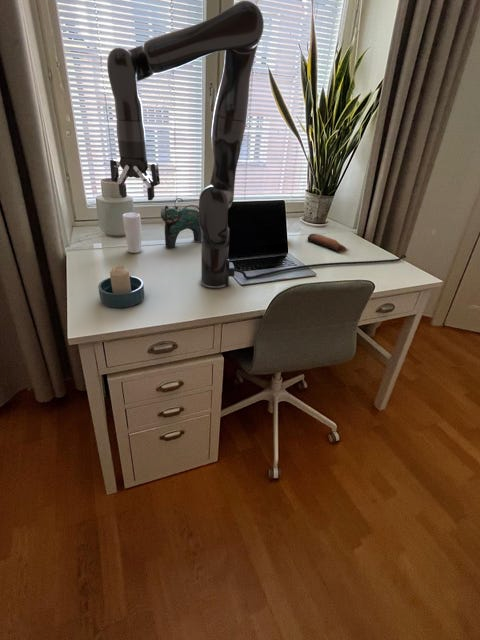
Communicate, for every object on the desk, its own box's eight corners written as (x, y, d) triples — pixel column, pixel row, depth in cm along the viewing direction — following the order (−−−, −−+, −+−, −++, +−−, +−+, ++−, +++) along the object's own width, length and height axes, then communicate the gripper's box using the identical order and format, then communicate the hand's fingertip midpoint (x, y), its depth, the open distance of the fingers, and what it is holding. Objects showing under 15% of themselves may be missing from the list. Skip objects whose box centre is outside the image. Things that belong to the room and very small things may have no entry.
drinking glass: (144, 253, 142) (141, 216, 134) (127, 254, 140) (123, 217, 132) (142, 247, 148) (138, 212, 140) (125, 249, 145) (121, 212, 137)
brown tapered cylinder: (348, 248, 161) (347, 237, 156) (339, 258, 159) (337, 248, 154) (317, 237, 172) (315, 227, 167) (308, 246, 170) (306, 236, 165)
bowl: (145, 288, 116) (144, 275, 114) (142, 308, 105) (141, 294, 103) (104, 289, 114) (102, 275, 111) (97, 309, 103) (94, 295, 100)
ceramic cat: (167, 250, 147) (164, 201, 136) (159, 245, 151) (156, 198, 140) (206, 242, 158) (206, 196, 147) (198, 238, 162) (197, 193, 152)
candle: (126, 302, 107) (122, 272, 101) (110, 299, 108) (105, 269, 102) (134, 294, 111) (131, 265, 106) (119, 291, 112) (114, 262, 107)
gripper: (160, 139, 99) (164, 198, 108) (114, 135, 101) (121, 193, 110) (150, 142, 93) (154, 203, 102) (101, 137, 95) (109, 198, 104)
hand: (137, 198), depth 106 cm, fingers open, 8 cm apart
